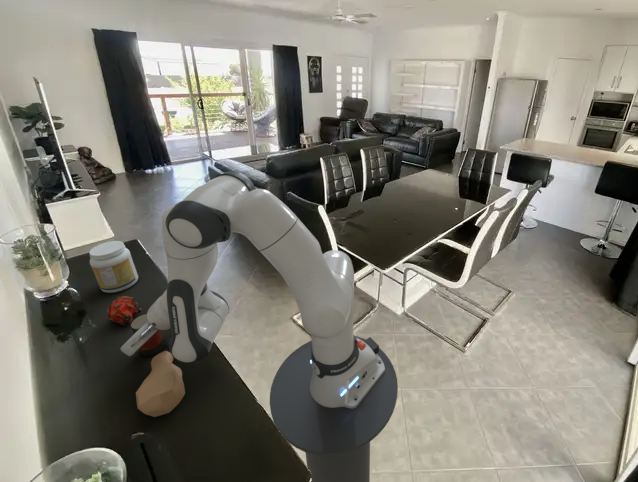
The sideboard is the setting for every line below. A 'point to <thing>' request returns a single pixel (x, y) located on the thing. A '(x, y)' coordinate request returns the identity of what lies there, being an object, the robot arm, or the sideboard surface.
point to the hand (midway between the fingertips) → (146, 333)
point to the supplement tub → (113, 266)
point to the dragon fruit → (123, 310)
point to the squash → (161, 387)
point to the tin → (151, 344)
